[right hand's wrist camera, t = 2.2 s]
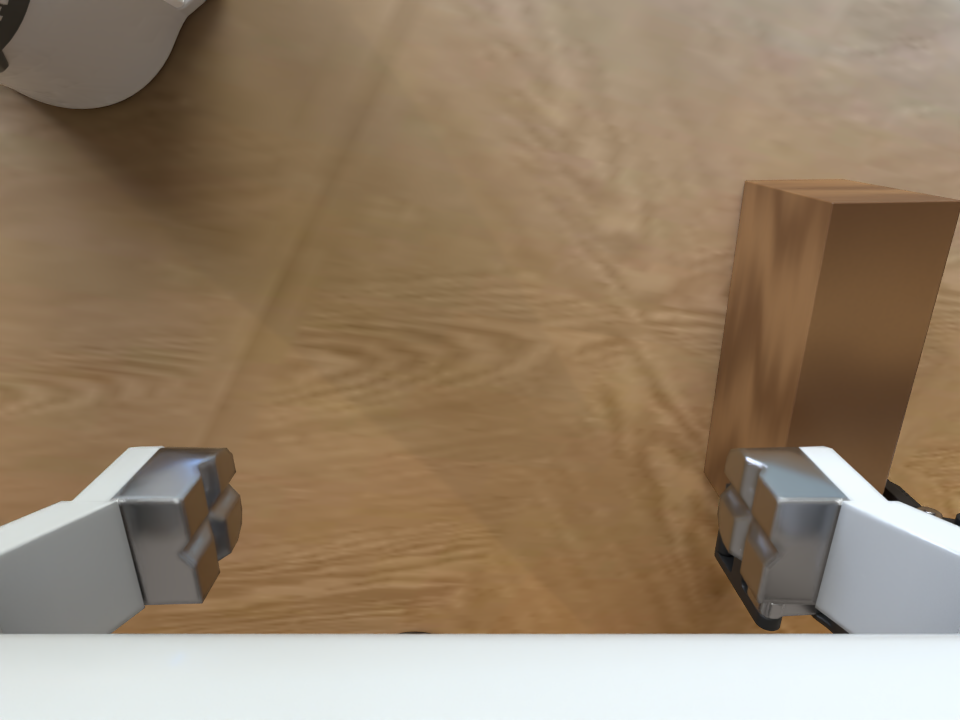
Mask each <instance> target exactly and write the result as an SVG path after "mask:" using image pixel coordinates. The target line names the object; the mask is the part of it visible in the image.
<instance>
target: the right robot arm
mask: <svg viewBox="0 0 960 720" xmlns="http://www.w3.org/2000/svg"><path fill="white" fill-rule="evenodd" d="M205 1H206V0H0V84H1V85H4V86H7V87H10V88H12V89H14V90H16V91H18V92H19V93H21V94H23V95H26V96H28V97H30V98H32V99H35V100H37V101H40V102H43V103H46V104H50V105H54V106H58V107H64V108H72V109H92V108H99V107H104V106H109V105H112V104H115V103H118V102H120V101H122V100H125V99H127V98H129V97H130V96H132V95H134V94H135V93H137V92H138V91H140V90H141V89H142V88H144V87H145V86H146V85H147V84H148V83H149V82H150V81H151V80H152V79H153V78H154V77H155V76H156V75H157V73H158V72H159V71H160V69H161V68H162V67H163V65H164V63H165V62H166V60H167V58H168V57H169V55H170V53H171V51H172V48H173V46H174V43H175V41H176V38H177V36H178V34H179V31H180V29H181V27H182V25H183V23H184V21H185V20H186V18H187V17H188V16H189V15H190V14H191V13H192V12H194V11H195V10H196V9H197V8H198V7H199V6H201V5H202V4H203V3H204V2H205ZM235 473H236V469H235V464H234V460H233V455H232V453H231V452H230V451H229V450H228V449H227V448H207V447H164V446H148V447H132V448H128V449H127V450H126V451H125V452H124V453H123V454H122V455H121V456H120V457H119V458H117V459H116V460H115V461H114V462H113V463H112V464H111V465H110V466H109V467H108V468H107V469H106V470H105V471H104V472H102V473H101V474H100V475H99V476H98V477H97V478H96V479H95V480H94V481H93V482H92V483H91V484H90V485H89V486H87V487H86V488H85V489H84V490H83V491H82V492H81V493H80V494H79V495H78V496H77V497H76V498H75V499H74V500H72V501H61V502H58V503H56V504H53V505H51V506H49V507H46V508H44V509H41V510H39V511H37V512H34V513H32V514H29V515H27V516H24V517H22V518H20V519H17V520H15V521H12V522H10V523H8V524H5V525H3V526H0V720H960V526H957V525H955V524H952V523H950V522H947V521H945V520H943V519H940V518H938V517H935V516H933V515H931V514H928V513H926V512H923V511H921V510H919V509H916V508H914V507H911V506H909V505H907V504H904V503H902V502H899V501H888V500H887V499H885V498H884V497H883V496H882V495H881V494H880V493H879V492H878V491H877V490H876V489H875V488H874V487H873V486H872V485H871V484H869V483H868V482H867V481H866V480H865V479H864V478H863V477H862V476H861V475H860V474H859V473H858V472H857V471H856V470H854V469H853V468H852V467H851V466H850V465H849V464H848V463H847V462H846V461H845V460H844V459H843V458H842V457H841V456H840V455H838V454H837V453H836V452H835V451H834V450H833V449H832V448H829V447H825V446H811V447H768V448H736V449H731V450H730V452H729V454H728V456H727V458H726V463H725V469H724V473H725V474H726V476H727V477H728V479H729V481H730V482H731V485H730V486H729V487H728V488H727V489H726V490H725V491H724V492H723V493H722V494H721V495H720V499H719V506H718V523H719V531H720V534H721V538H722V541H723V543H724V545H725V547H726V549H727V550H728V552H729V553H730V554H731V555H733V556H735V557H736V558H738V559H739V560H741V561H742V563H741V569H740V573H741V575H742V577H743V579H744V580H745V582H746V584H747V586H748V587H749V589H750V591H751V592H752V594H753V596H754V598H755V599H756V601H757V603H763V604H800V605H815V608H816V609H818V610H819V611H820V612H822V613H823V614H824V615H826V616H827V617H828V618H830V619H831V620H832V621H834V622H835V623H836V624H838V625H839V626H840V627H842V628H843V629H844V630H846V631H847V632H848V633H849V634H111V633H112V632H113V631H115V630H116V629H117V628H119V627H120V626H121V625H123V624H124V623H125V622H127V621H128V620H129V619H131V618H132V617H133V616H135V615H136V614H137V613H139V612H140V611H141V610H143V609H144V608H145V605H160V604H195V603H203V601H204V599H205V598H206V596H207V594H208V593H209V591H210V589H211V587H212V586H213V584H214V582H215V580H216V579H217V577H218V575H219V573H220V569H219V563H218V561H219V560H221V559H222V558H224V557H225V556H227V555H229V554H230V553H231V552H232V550H233V549H234V547H235V545H236V543H237V541H238V538H239V534H240V529H241V525H242V505H241V498H240V495H239V494H238V493H237V492H236V491H235V490H234V489H233V488H232V487H231V486H230V485H229V482H230V481H231V479H232V477H233V476H234V474H235Z"/></svg>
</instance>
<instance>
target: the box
mask: <svg viewBox="0 0 960 720" xmlns="http://www.w3.org/2000/svg"><path fill="white" fill-rule="evenodd" d="M959 213H960V200H956V199H950V198H945V197H939V196H934V195H928V194H922V193H917V192H911V191H906V190H900V189H895V188H889V187H883V186H878V185H872V184H867V183H861V182H856V181H850V180H845V179H819V180H749V181H745V186H744V193H743V200H742V207H741V214H740V221H739V228H738V235H737V242H736V249H735V256H734V263H733V271H732V278H731V285H730V292H729V299H728V306H727V313H726V320H725V327H724V334H723V341H722V348H721V355H720V362H719V369H718V377H717V384H716V391H715V398H714V405H713V412H712V419H711V426H710V433H709V440H708V447H707V454H706V461H705V468H704V473H705V475H706V477H707V478H708V480H709V481H710V483H711V485H712V486H713V488H714V489H715V491H716V493H717V494H718V496H719V497H720V495H721V494H722V493H723V492H724V491H725V488H726V484H730V481H729V479H728V477H727V476H726V474H725V473H724V469H725V463H726V458H727V456H728V454H729V452H730V450H731V449H736V448H768V447H811V446H825V447H829V448H832V449H833V450H834V451H835V452H836V453H837V454H838V455H840V456H841V457H842V458H843V459H844V460H845V461H846V462H847V463H848V464H849V465H850V466H851V467H852V468H853V469H854V470H856V471H857V472H858V473H859V474H860V475H861V476H862V477H863V478H864V479H865V480H866V481H867V482H868V483H869V484H871V485H872V486H873V487H874V488H875V489H876V490H877V491H878V492H879V493H880V494H881V495H882V496H883V493H884V489H885V485H886V482H887V478H888V474H889V471H890V467H891V463H892V460H893V456H894V452H895V449H896V445H897V441H898V438H899V434H900V430H901V426H902V423H903V419H904V415H905V412H906V408H907V404H908V401H909V397H910V393H911V390H912V386H913V382H914V379H915V375H916V371H917V368H918V364H919V360H920V357H921V353H922V349H923V345H924V342H925V338H926V334H927V331H928V327H929V323H930V320H931V316H932V312H933V309H934V305H935V301H936V298H937V294H938V290H939V287H940V283H941V279H942V276H943V272H944V268H945V264H946V261H947V257H948V253H949V250H950V246H951V242H952V239H953V235H954V231H955V228H956V224H957V220H958V217H959Z"/></svg>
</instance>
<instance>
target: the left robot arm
mask: <svg viewBox="0 0 960 720" xmlns="http://www.w3.org/2000/svg"><path fill="white" fill-rule="evenodd" d="M730 485H731V482H730V484H726V488H725V490H726V489H727V488H728V487H729V486H730ZM883 497H884V498H885V499H887V500H888V501H899V502H902V503H904V504H907V505H909V506H911V507H914V508H916V509H919V510H921V511H923V512H926V513H928V514H931V515H933V516H935V517H938V518H940V519H943V520H945V521H947V522H950V523H952V524H955V525H957V526H960V513H959V514H957V515H956V518H955V519H950V518H944V517H943V516H942V514H941V513H940V512H938V511H937V510H935V509H932V508H929V507H922V506H921V505H920V504H918V503H917V502H916V501H915V500H914V499H913V498H912V497H911V496H910V495H909V494H907V493H905V491H904V490H903V489H902V488H901V487H900V486H898V485H896V484H894V483H892V482H890V481H889V480H888V479H887V482H886V485H885V489H884V493H883ZM715 557H716V559H717V561H718V562H719V564H720V566H721V567H722V569H723V571H724V572H725V574H726V575H727V577H728V579H729V580H730V582H731V584H732V585H733V587H734V589H735V590H736V592H737V593H738V595H739V597H740V598H741V600H742V602H743V603H744V605H745V607H746V608H747V610H748V611H749V613H750V615H751V616H752V618H753V620H754V621H755V623H756V624H757V625H758V626H759V627H761V628H763V629H765V630H768V631H775V630H778V629H779V628H780V624H781V620H782V616H795V615H812V616H813V618H815V619H816V620H817V621H818V622H820V623H821V624H823V625H824V626H825V627H827V628H828V629H829V630H830V631H831V632H832V633H833V634H849V633H848V632H847V631H846V630H844V629H843V628H842V627H840V626H839V625H838V624H836V623H835V622H834V621H832V620H831V619H830V618H828V617H827V616H826V615H824V614H823V613H822V612H820V611H819V610H818V609H816V608H815V605H800V604H763V603H757V601H756V599H755V598H754V596H753V594H752V592H751V591H750V589H749V587H748V586H747V584H746V582H745V580H744V579H743V577H742V575H741V573H740V569H741V563H742V561H741V560H739V559H738V558H736V557H735V556H733V555H731V554H730V553H729V552H728V550H727V549H726V547H725V545H724V543H723V541H722V538H721V534H720V531H719V530H718V536H717V542H716V548H715ZM400 634H430V633H424V632H405V633H400Z"/></svg>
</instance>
